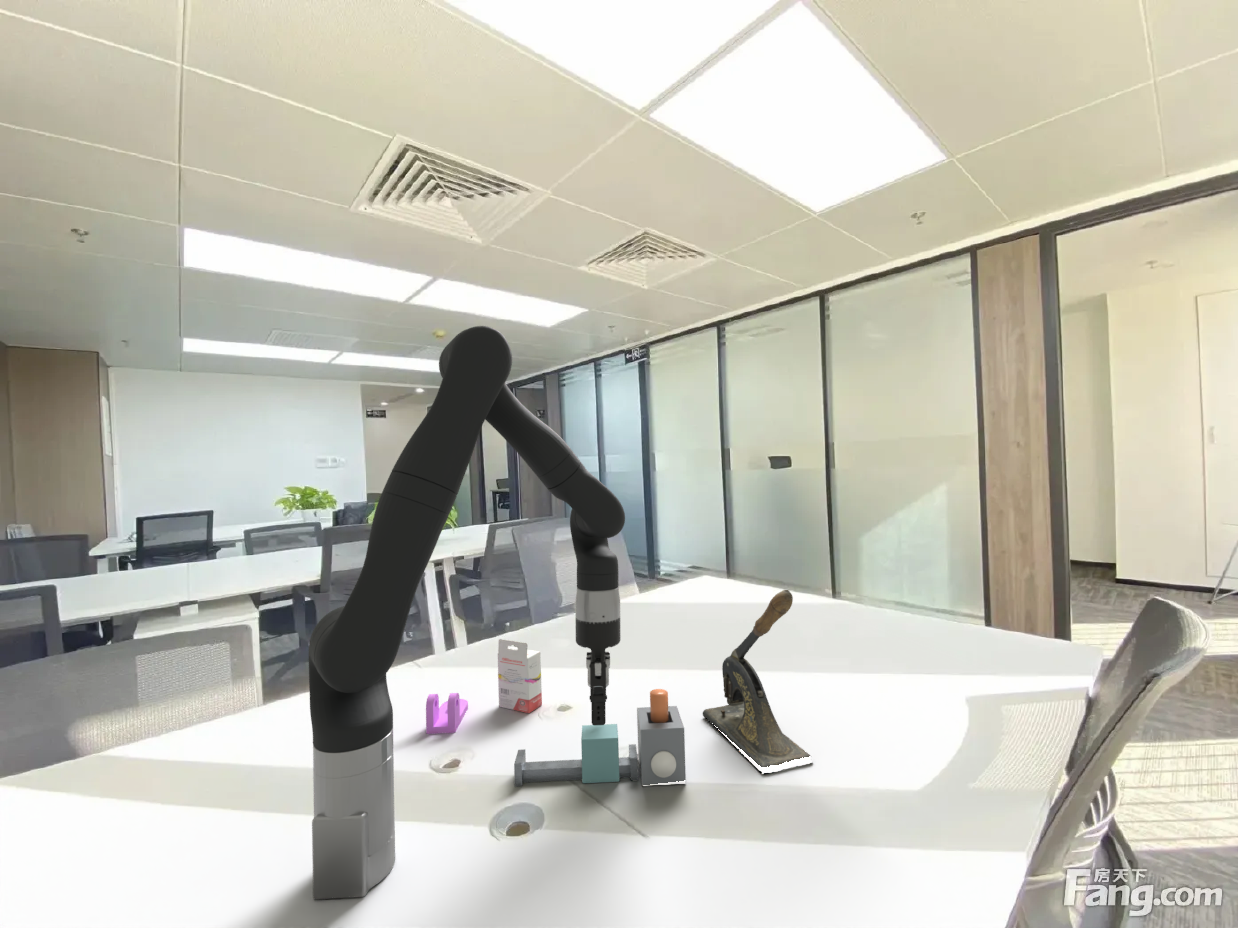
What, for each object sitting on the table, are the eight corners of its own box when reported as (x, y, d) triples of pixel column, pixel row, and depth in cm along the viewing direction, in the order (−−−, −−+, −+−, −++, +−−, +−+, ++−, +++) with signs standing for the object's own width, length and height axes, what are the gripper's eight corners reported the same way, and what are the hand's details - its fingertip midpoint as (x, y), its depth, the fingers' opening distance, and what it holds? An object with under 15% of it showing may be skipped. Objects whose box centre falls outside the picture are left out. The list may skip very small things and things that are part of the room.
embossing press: (748, 709, 110) (744, 566, 111) (819, 769, 88) (813, 588, 88) (700, 716, 108) (696, 569, 108) (761, 780, 85) (755, 594, 85)
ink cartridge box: (543, 704, 115) (541, 637, 115) (529, 714, 111) (527, 643, 111) (512, 697, 119) (510, 632, 119) (497, 706, 115) (496, 638, 115)
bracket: (455, 733, 103) (454, 697, 104) (426, 734, 103) (425, 698, 103) (470, 704, 116) (470, 672, 117) (445, 705, 116) (444, 673, 116)
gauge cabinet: (686, 785, 84) (684, 728, 84) (642, 788, 83) (640, 730, 84) (678, 757, 92) (676, 705, 92) (638, 759, 92) (636, 707, 92)
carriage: (619, 781, 85) (618, 737, 85) (582, 783, 85) (581, 739, 85) (618, 765, 90) (617, 723, 90) (583, 766, 90) (582, 725, 90)
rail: (638, 780, 86) (637, 757, 86) (514, 786, 85) (514, 763, 85) (636, 765, 90) (635, 744, 90) (518, 771, 89) (518, 749, 89)
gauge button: (669, 722, 87) (668, 695, 87) (651, 723, 87) (650, 696, 87) (667, 714, 90) (666, 688, 90) (649, 715, 90) (649, 689, 90)
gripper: (622, 625, 81) (623, 732, 80) (618, 604, 95) (619, 694, 95) (573, 626, 81) (573, 733, 80) (577, 604, 95) (577, 695, 94)
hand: (598, 712), depth 87 cm, fingers open, 8 cm apart
